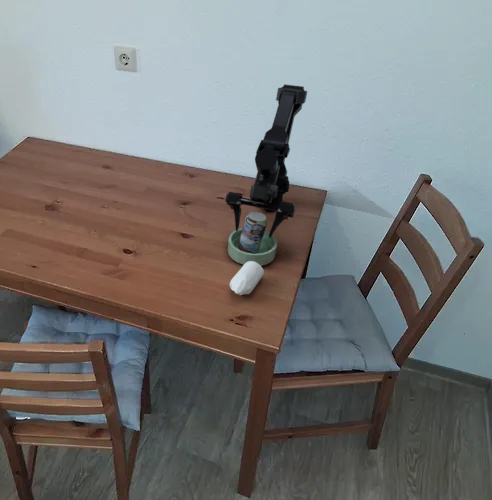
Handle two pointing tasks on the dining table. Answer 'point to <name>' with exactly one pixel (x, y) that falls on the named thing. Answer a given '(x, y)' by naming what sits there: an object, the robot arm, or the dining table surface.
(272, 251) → the bowl
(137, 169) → the dining table surface
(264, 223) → the beverage can
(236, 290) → the roll
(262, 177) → the robot arm
